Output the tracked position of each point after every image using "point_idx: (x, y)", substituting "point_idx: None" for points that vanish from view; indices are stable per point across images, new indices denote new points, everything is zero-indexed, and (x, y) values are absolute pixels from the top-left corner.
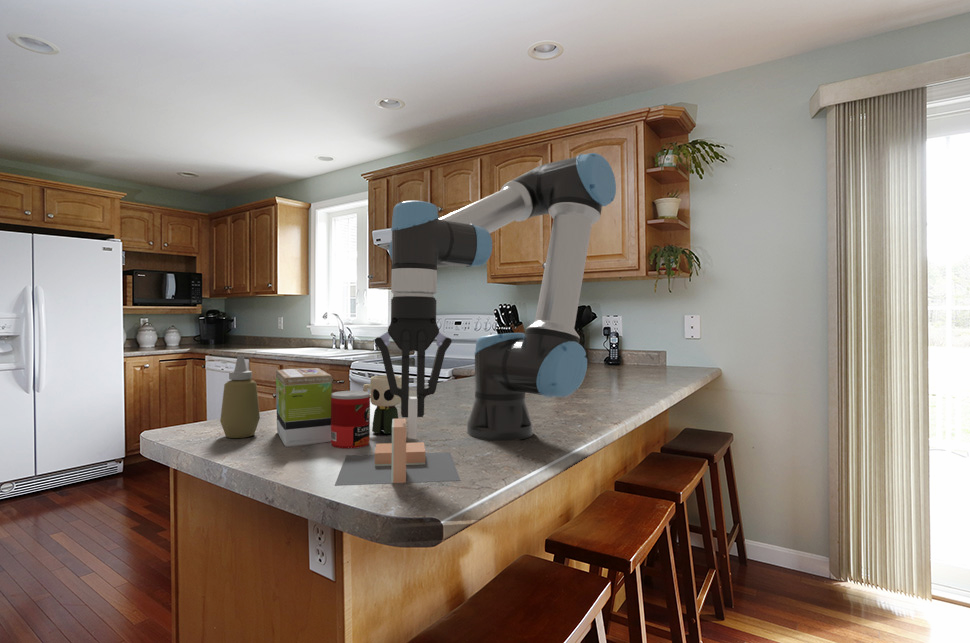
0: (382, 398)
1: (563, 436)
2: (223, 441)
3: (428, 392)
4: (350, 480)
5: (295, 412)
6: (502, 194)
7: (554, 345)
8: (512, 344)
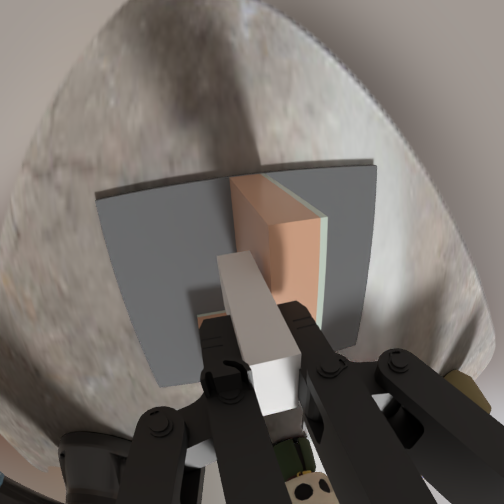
0: (313, 483)
1: (23, 437)
2: (461, 358)
3: (184, 421)
4: (351, 195)
5: None
6: None
7: None
8: None
